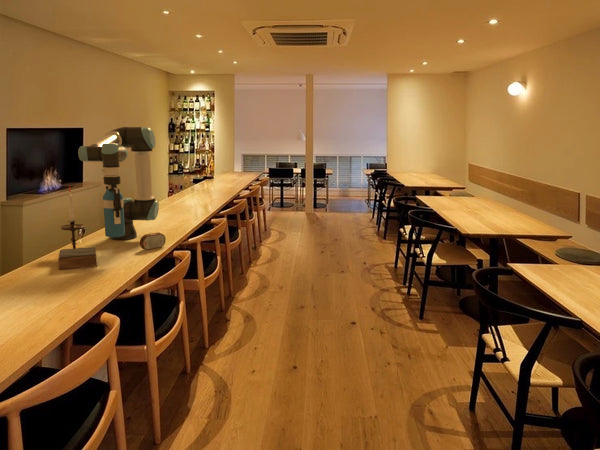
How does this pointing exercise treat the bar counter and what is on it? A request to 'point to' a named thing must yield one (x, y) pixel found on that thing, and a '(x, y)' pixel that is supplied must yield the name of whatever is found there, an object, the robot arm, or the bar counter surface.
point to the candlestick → (72, 221)
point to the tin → (152, 241)
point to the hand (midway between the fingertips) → (114, 222)
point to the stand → (77, 258)
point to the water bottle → (112, 215)
